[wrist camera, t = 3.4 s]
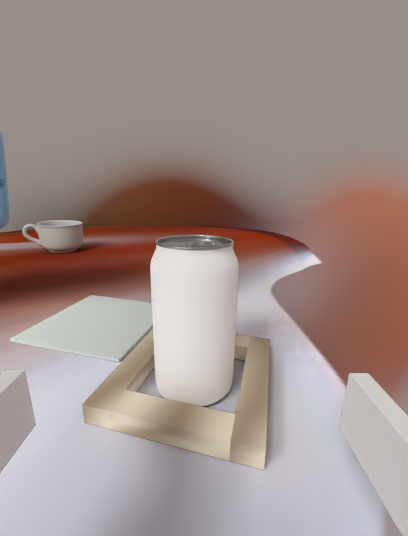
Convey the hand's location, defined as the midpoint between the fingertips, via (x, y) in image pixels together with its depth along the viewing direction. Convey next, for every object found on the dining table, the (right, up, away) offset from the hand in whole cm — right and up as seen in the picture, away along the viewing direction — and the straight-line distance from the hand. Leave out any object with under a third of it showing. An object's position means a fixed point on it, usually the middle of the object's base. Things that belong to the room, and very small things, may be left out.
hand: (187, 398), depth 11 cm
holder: (0, -4, +11) cm, 12 cm away
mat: (-12, -1, +21) cm, 24 cm away
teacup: (-39, +10, +60) cm, 73 cm away
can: (0, -4, +11) cm, 12 cm away
